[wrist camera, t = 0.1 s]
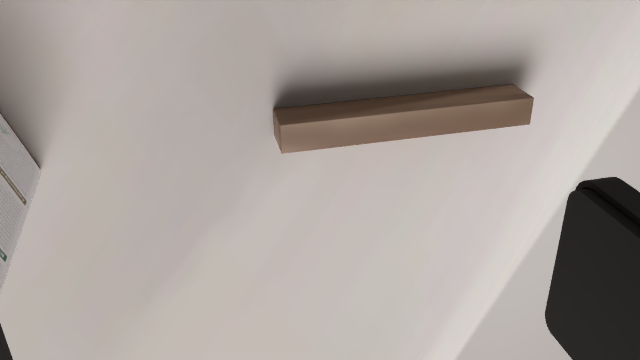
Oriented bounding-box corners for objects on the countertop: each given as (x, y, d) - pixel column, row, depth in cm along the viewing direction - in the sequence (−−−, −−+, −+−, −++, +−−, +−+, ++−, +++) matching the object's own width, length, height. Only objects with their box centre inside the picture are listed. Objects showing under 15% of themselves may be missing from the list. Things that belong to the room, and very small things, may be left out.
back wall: (272, 109, 42) (280, 125, 39) (512, 84, 45) (533, 97, 42) (274, 135, 43) (281, 153, 40) (509, 109, 46) (529, 124, 43)
